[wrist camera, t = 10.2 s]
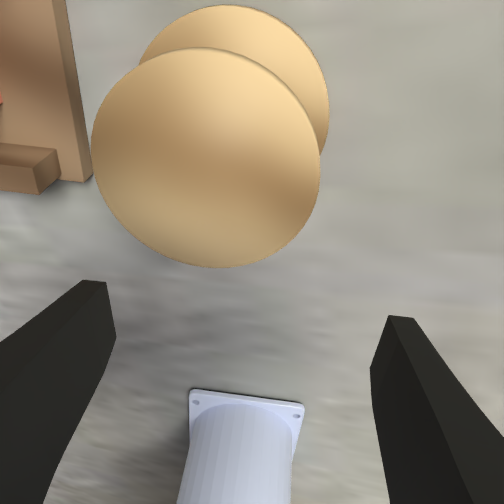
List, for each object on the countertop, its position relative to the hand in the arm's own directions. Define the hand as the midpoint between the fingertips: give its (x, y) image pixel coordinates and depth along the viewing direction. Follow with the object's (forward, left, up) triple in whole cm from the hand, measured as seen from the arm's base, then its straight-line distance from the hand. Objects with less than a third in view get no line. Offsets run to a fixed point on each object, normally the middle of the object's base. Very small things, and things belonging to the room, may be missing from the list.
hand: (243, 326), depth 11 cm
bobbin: (+2, +2, -10) cm, 10 cm away
